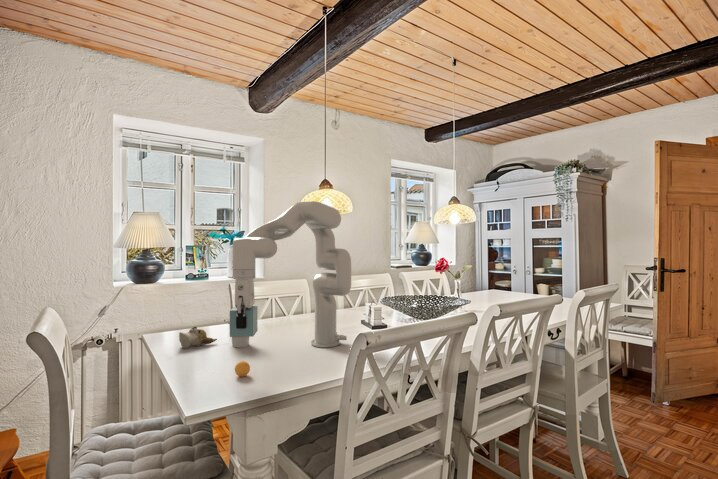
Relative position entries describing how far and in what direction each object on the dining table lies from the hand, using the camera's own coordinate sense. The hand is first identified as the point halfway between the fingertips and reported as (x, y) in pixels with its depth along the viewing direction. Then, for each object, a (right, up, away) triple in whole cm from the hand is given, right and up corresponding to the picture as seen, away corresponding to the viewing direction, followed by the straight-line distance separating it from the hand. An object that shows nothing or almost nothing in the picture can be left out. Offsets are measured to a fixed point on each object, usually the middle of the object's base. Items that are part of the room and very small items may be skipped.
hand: (244, 325), depth 136 cm
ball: (0, -15, 0) cm, 15 cm away
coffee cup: (-12, -17, +37) cm, 43 cm away
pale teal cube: (0, -3, 0) cm, 3 cm away
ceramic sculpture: (-31, -17, +36) cm, 51 cm away
